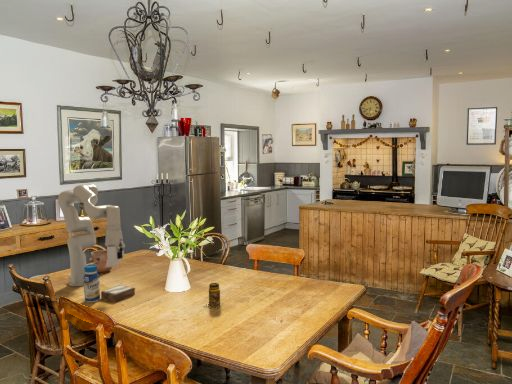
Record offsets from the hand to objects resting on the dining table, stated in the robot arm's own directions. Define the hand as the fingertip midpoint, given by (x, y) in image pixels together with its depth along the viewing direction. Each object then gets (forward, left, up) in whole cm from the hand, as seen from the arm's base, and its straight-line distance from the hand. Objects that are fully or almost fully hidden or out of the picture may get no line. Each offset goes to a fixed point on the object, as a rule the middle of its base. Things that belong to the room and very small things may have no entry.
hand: (115, 257), depth 248 cm
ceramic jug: (-49, +30, -23) cm, 61 cm away
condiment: (+59, +14, -23) cm, 65 cm away
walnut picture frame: (+2, -1, -22) cm, 23 cm away
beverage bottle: (-6, -13, -23) cm, 27 cm away
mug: (0, 0, -5) cm, 5 cm away
